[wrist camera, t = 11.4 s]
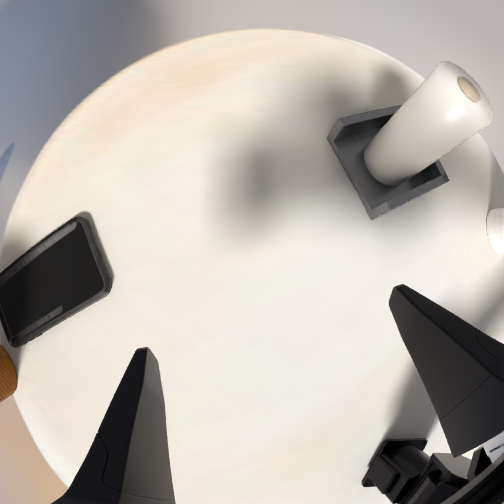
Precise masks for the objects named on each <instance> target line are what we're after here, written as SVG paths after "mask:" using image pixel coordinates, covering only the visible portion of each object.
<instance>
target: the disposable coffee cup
mask: <svg viewBox="0 0 504 504" xmlns="http://www.w3.org/2000/svg"><path fill="white" fill-rule="evenodd" d="M16 387H17V376H16V371H15V368H14V365H13V362H12V360H11V358H10V356H9V354H8V353H7V351H6V350H5V349H4V348H3V347H2V346H1V345H0V402H1V401H3V400H4V399H6V398H7V397H9V396H10V395H12V394H13V393H14V392H15V390H16Z"/></svg>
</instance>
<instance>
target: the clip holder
mask: <svg viewBox="0 0 504 504" xmlns="http://www.w3.org/2000/svg"><path fill="white" fill-rule="evenodd" d="M401 106H402V105H399V106H394V107H389V108H384V109H379V110H374V111H370V112H365V113H361V114H357V115H352V116H348V117H344V118H340V119H339V120H338V121H337V123H336V124H335V126H334V128H333V129H332V131H331V132H330V134H329V136H328V137H327V139H328V141H329V143H330V144H331V146H332V148H333V149H334V151H335V153H336V155H337V156H338V158H339V160H340V162H341V163H342V165H343V167H344V169H345V170H346V172H347V174H348V176H349V178H350V180H351V181H352V183H353V185H354V187H355V189H356V191H357V193H358V195H359V197H360V199H361V201H362V203H363V205H364V207H365V209H366V211H367V213H368V215H369V217H370V219H371V220H373V219H375V218H377V217H379V216H381V215H384V214H386V213H388V212H390V211H392V210H394V209H396V208H398V207H400V206H402V205H404V204H406V203H408V202H410V201H412V200H414V199H416V198H418V197H420V196H422V195H424V194H425V193H427V192H429V191H431V190H433V189H435V188H437V187H439V186H441V185H442V184H444V183H446V182H448V181H449V179H448V176H447V174H446V173H445V171H444V169H443V167H442V165H441V163H440V161H439V159H438V160H436V161H435V162H433V163H432V164H431V165H429V166H428V167H426V168H425V169H423V170H422V171H420V172H419V173H417V174H416V175H414V176H413V177H411V178H410V179H408V180H407V181H405V182H404V183H402V184H400V185H398V186H387V185H384V184H382V183H381V182H379V181H378V180H376V179H375V178H374V177H373V176H372V175H371V173H370V172H369V170H368V168H367V166H366V164H365V160H364V150H365V147H366V145H367V144H368V143H369V142H370V141H371V140H372V138H373V137H374V136H375V135H376V134H377V133H378V132H379V131H380V130H381V129H382V127H383V126H384V125H385V124H386V123H387V122H388V121H389V120H390V119H391V117H392V116H393V115H394V114H395V113H396V112H397V111H398V110H399V109H400V107H401Z"/></svg>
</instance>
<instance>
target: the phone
mask: <svg viewBox="0 0 504 504" xmlns="http://www.w3.org/2000/svg"><path fill="white" fill-rule="evenodd" d="M111 288H112V282H111V279H110V276H109V274H108V271H107V269H106V267H105V264H104V262H103V259H102V256H101V254H100V251H99V249H98V246H97V243H96V240H95V238H94V235H93V232H92V229H91V226H90V224H89V222H88V221H87V220H86V219H84V218H82V217H75V218H73V219H71V220H70V221H68V222H67V223H65V224H64V225H63V226H61V227H60V228H58V229H57V230H55V231H54V232H52V233H51V234H50V235H48V236H47V237H46V238H44V239H43V240H41V241H40V242H39V243H37V244H36V245H35V246H33V247H32V248H31V249H29V250H28V251H27V252H26V253H24V254H23V255H22V256H20V257H19V258H18V259H17V260H15V261H14V262H13V263H12V264H11V265H9V266H8V267H7V268H6V269H5V270H3V271H2V272H1V273H0V320H1V323H2V326H3V329H4V332H5V334H6V337H7V340H8V342H9V344H10V345H11V346H13V347H19V346H22V345H23V344H26V343H28V341H31V340H33V339H35V338H36V337H38V336H40V335H42V333H43V332H45V331H47V330H49V329H50V328H52V327H54V326H55V325H57V324H59V323H60V322H62V321H64V320H66V319H67V318H69V317H71V316H73V315H74V314H76V313H78V312H79V311H81V310H83V309H85V308H87V307H88V306H90V305H92V304H94V303H95V302H97V301H99V300H101V299H102V298H104V297H106V296H107V295H108V294H109V293H110V291H111Z"/></svg>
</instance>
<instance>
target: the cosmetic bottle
mask: <svg viewBox="0 0 504 504" xmlns="http://www.w3.org/2000/svg"><path fill="white" fill-rule="evenodd" d="M487 234H488V238H489V241H490V243H491V246H492V247H493V249H494V250H495V251H496V252H497V253H499V254H504V208H497V209H492V210H491V211H490V212H489V214H488V216H487Z"/></svg>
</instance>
